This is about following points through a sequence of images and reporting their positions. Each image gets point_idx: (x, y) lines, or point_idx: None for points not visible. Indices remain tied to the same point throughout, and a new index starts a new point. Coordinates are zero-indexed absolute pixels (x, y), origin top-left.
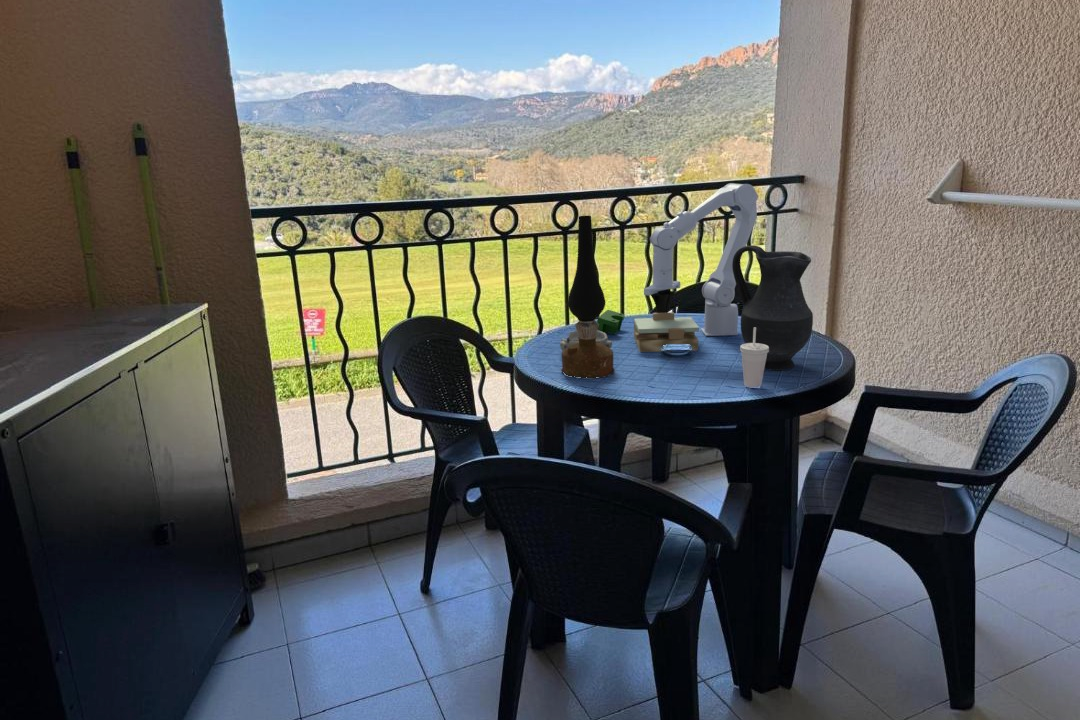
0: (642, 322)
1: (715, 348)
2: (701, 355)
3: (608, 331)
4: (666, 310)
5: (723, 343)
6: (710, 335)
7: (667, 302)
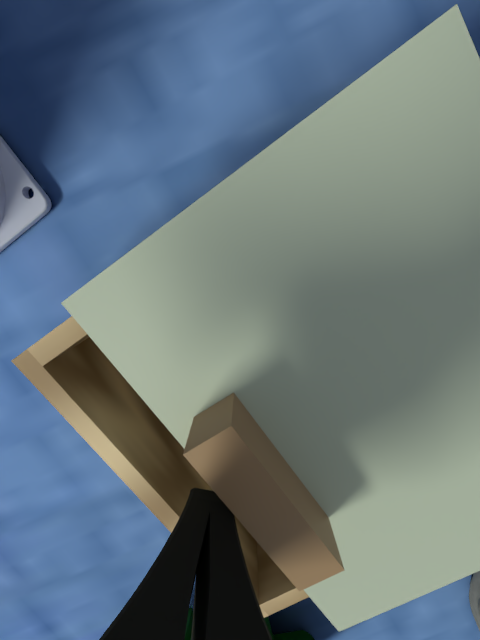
0: (431, 550)
1: (278, 17)
2: (476, 32)
3: (271, 632)
4: (201, 527)
5: (136, 21)
6: (33, 179)
7: (184, 631)
